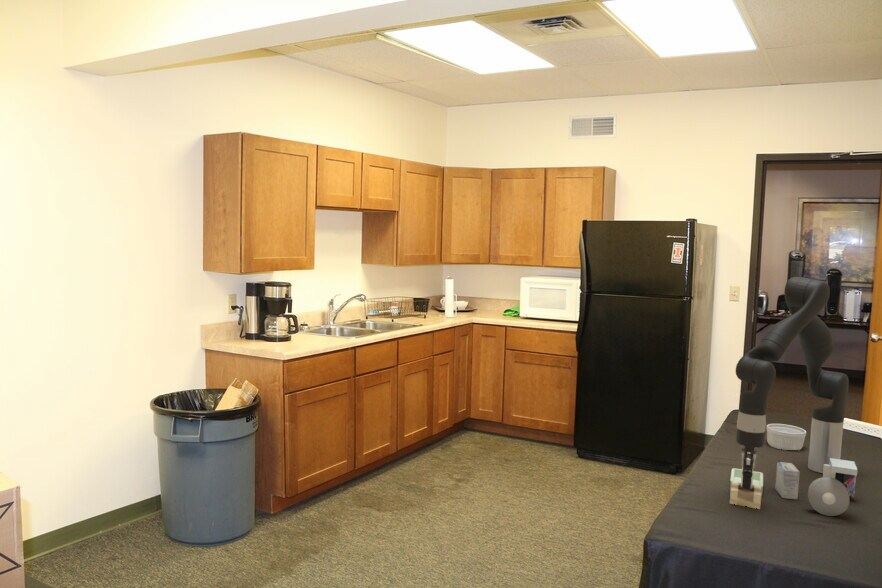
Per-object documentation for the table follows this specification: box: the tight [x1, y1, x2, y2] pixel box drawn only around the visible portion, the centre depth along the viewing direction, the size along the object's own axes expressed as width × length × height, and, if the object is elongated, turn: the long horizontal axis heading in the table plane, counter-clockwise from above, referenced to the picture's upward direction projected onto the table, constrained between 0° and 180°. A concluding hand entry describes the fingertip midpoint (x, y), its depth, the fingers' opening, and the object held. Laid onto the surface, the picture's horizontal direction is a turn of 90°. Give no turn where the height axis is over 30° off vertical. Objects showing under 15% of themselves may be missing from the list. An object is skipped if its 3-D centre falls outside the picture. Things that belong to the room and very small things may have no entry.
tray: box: [729, 467, 764, 498], centre depth 218 cm, size 14×9×3 cm, turn 156°
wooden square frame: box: [729, 482, 762, 510], centre depth 205 cm, size 8×8×4 cm
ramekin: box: [765, 423, 807, 451], centre depth 262 cm, size 13×13×7 cm
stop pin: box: [740, 466, 754, 492], centre depth 205 cm, size 3×3×10 cm
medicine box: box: [774, 461, 800, 501], centre depth 212 cm, size 8×4×9 cm, turn 168°
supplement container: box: [835, 463, 858, 502], centre depth 211 cm, size 7×7×10 cm
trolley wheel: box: [807, 458, 858, 517], centre depth 198 cm, size 8×11×15 cm
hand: (746, 486), depth 205 cm, fingers open, 3 cm apart
